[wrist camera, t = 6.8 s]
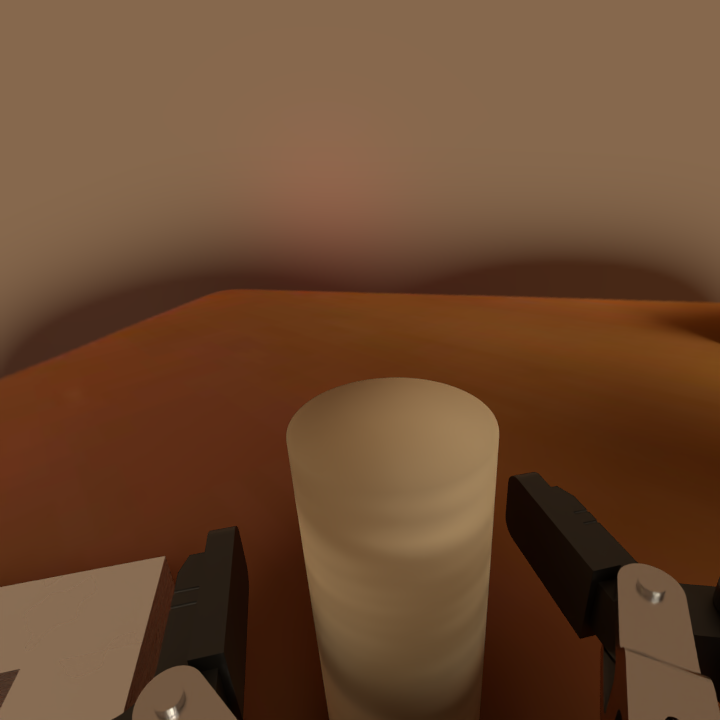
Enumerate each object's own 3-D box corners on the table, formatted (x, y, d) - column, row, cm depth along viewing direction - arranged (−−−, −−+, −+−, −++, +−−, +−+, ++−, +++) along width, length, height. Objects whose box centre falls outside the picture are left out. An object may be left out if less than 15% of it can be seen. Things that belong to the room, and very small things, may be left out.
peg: (445, 662, 16) (450, 367, 12) (502, 818, 12) (544, 466, 8) (327, 691, 16) (282, 391, 11) (347, 865, 12) (291, 513, 7)
